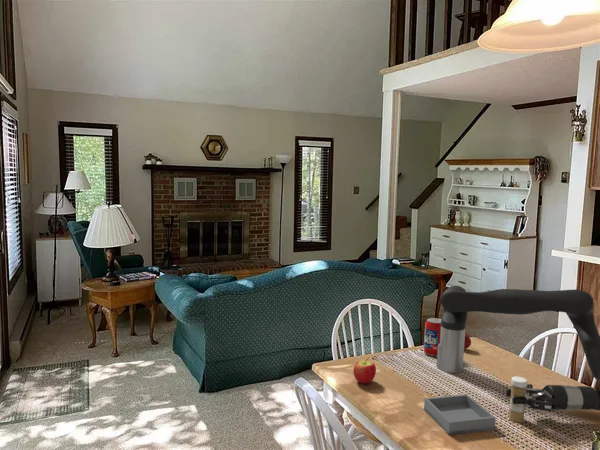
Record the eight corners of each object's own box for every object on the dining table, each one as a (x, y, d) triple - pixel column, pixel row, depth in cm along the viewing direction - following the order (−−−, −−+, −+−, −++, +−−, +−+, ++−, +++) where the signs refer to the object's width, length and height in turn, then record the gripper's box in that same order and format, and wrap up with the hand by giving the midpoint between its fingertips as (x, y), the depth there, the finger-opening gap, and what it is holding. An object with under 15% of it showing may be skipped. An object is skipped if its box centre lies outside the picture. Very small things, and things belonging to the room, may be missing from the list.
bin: (448, 435, 145) (449, 422, 145) (423, 409, 160) (424, 398, 160) (494, 429, 149) (495, 417, 148) (466, 405, 164) (467, 394, 164)
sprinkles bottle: (506, 419, 155) (509, 379, 154) (511, 413, 159) (514, 374, 157) (521, 424, 153) (525, 383, 151) (526, 418, 156) (529, 378, 154)
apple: (365, 389, 175) (366, 362, 173) (348, 381, 181) (349, 355, 180) (380, 382, 180) (381, 356, 179) (362, 375, 186) (363, 350, 185)
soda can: (446, 355, 208) (448, 321, 207) (433, 358, 204) (435, 324, 202) (432, 349, 215) (434, 316, 213) (419, 352, 211) (421, 319, 209)
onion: (471, 352, 212) (472, 335, 211) (457, 351, 213) (458, 333, 212) (469, 348, 217) (470, 330, 217) (456, 346, 219) (457, 329, 218)
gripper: (552, 376, 162) (500, 375, 161) (576, 396, 147) (520, 395, 147) (550, 398, 162) (499, 397, 162) (574, 420, 148) (518, 419, 148)
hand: (509, 396), depth 155 cm, fingers closed on sprinkles bottle, 4 cm apart
